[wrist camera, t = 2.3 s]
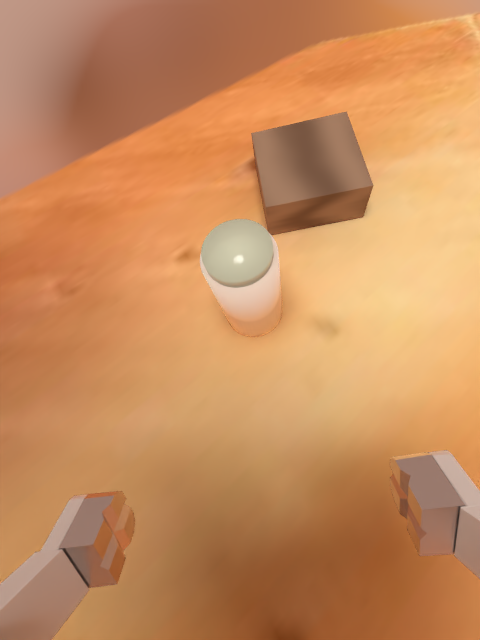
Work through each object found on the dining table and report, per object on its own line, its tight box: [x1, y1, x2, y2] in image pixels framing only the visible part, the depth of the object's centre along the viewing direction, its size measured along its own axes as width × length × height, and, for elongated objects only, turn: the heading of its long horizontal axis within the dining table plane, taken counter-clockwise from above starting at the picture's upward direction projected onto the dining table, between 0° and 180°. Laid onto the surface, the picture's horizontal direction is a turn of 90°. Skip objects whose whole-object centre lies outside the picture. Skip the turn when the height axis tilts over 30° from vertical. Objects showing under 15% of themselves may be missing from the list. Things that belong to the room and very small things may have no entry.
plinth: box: [251, 112, 373, 235], centre depth 30 cm, size 9×9×4 cm
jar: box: [200, 219, 282, 337], centre depth 24 cm, size 5×5×10 cm
